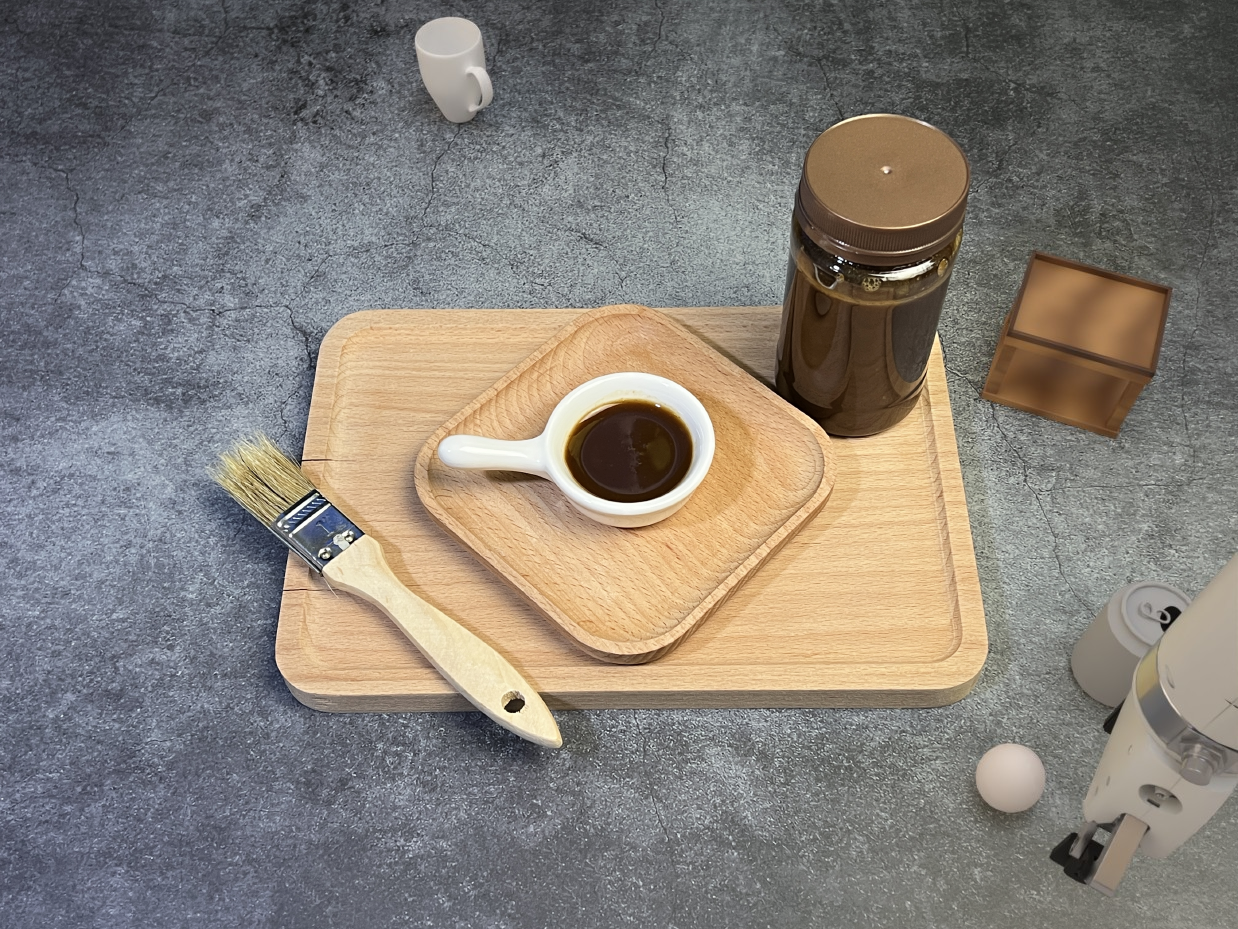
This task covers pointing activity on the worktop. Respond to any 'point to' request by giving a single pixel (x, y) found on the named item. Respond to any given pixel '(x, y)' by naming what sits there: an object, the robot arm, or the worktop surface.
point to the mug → (454, 67)
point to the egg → (1010, 777)
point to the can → (1124, 638)
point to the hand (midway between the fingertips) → (1101, 800)
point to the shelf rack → (1078, 344)
